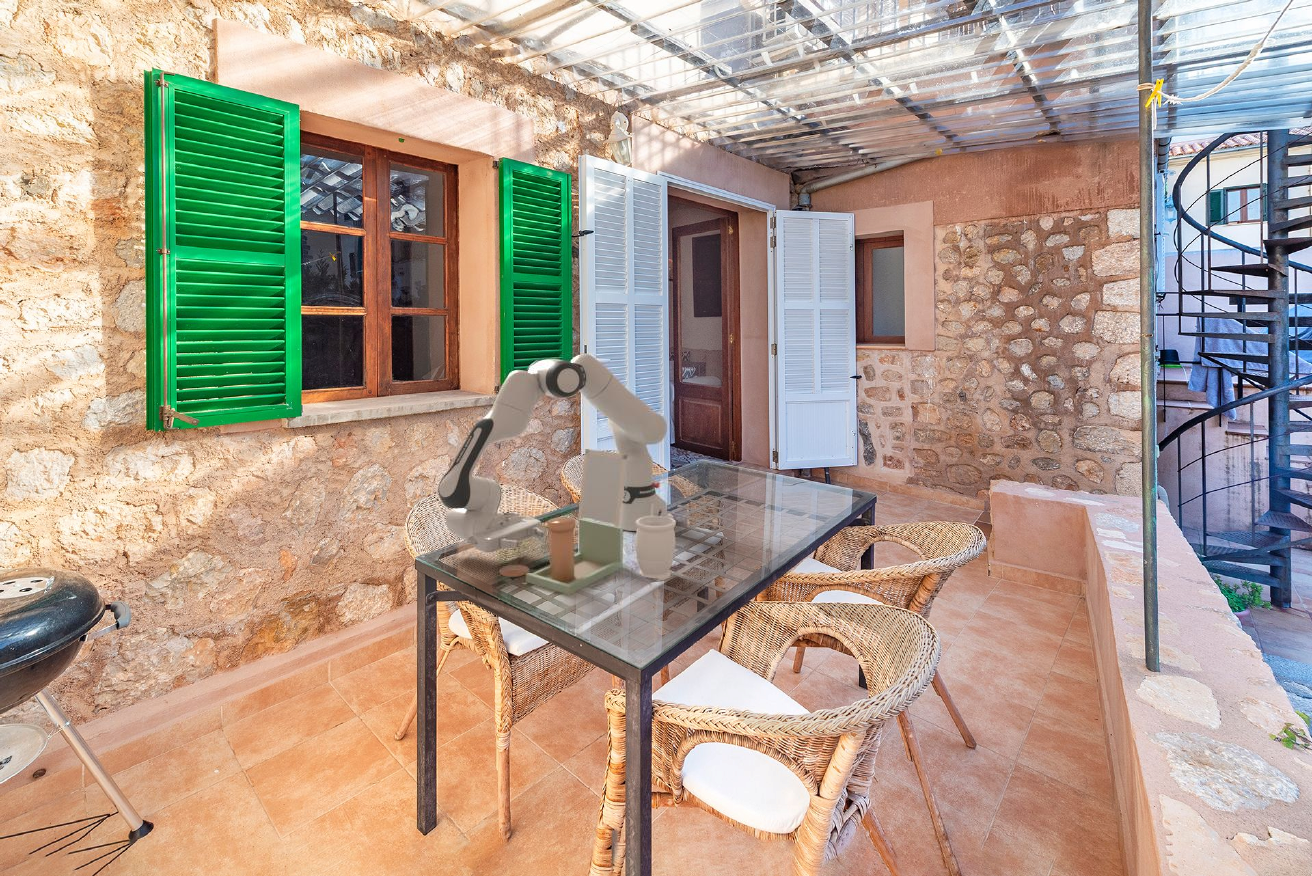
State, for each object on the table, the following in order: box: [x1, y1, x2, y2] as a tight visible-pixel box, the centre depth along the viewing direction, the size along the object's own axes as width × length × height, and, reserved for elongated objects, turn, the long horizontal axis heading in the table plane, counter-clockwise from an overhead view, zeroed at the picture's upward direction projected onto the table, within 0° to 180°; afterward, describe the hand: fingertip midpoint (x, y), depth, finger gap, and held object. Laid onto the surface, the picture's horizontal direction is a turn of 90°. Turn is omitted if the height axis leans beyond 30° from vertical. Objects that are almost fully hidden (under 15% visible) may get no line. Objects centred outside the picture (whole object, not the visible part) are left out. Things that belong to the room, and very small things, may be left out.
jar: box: [635, 516, 677, 582], centre depth 167 cm, size 11×10×15 cm
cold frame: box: [525, 518, 624, 596], centre depth 165 cm, size 22×14×12 cm, turn 147°
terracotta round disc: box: [499, 564, 530, 578], centre depth 167 cm, size 8×8×1 cm
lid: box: [577, 448, 628, 527], centre depth 171 cm, size 19×14×1 cm
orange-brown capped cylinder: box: [547, 516, 576, 583], centre depth 162 cm, size 7×7×15 cm
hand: (530, 539), depth 167 cm, fingers open, 8 cm apart
